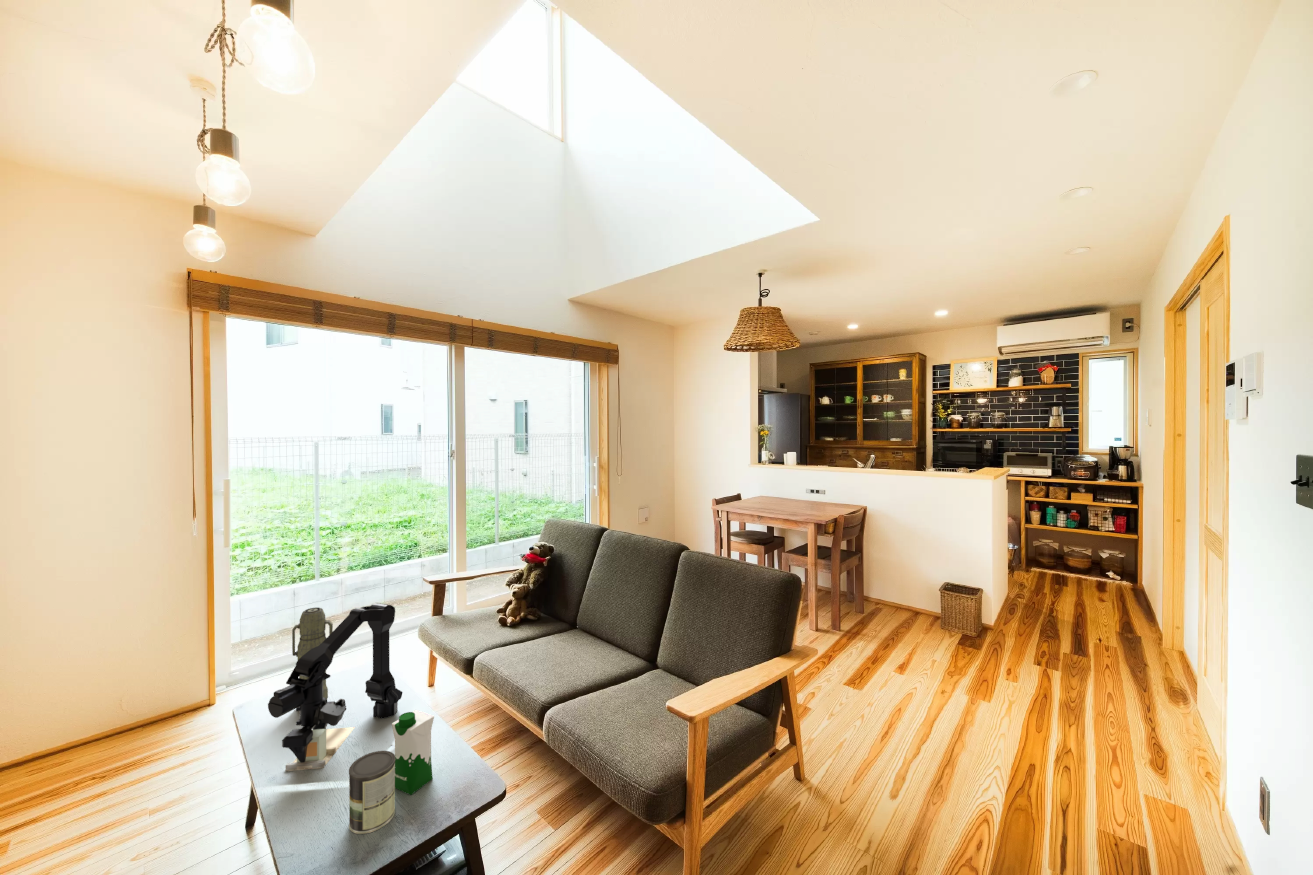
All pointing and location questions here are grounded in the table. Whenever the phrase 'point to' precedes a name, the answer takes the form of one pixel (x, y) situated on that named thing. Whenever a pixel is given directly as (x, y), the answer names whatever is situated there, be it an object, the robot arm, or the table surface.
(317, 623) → the thermos
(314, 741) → the carton
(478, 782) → the table surface
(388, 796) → the coffee can
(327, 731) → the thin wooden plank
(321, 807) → the table surface
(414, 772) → the milk carton
